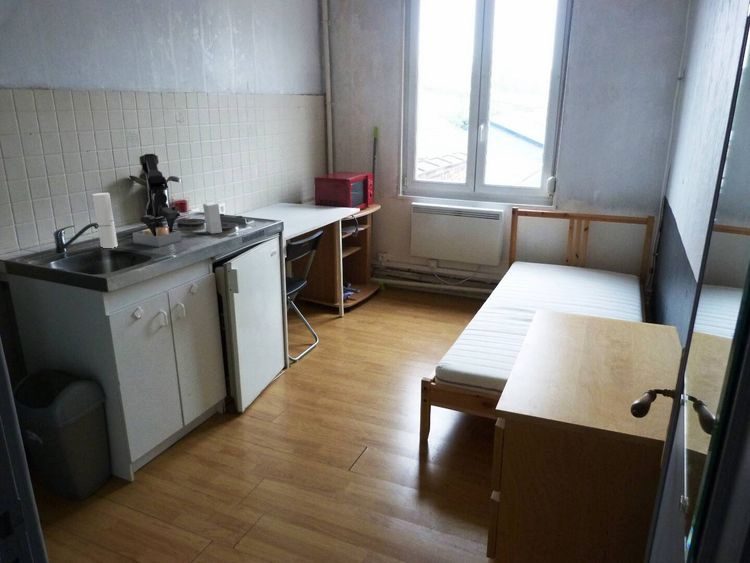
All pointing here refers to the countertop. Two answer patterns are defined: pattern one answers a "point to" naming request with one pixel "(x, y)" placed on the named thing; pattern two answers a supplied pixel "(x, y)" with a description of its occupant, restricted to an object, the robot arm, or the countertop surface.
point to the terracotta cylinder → (162, 231)
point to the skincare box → (212, 218)
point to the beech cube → (149, 232)
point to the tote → (157, 239)
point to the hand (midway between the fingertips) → (163, 234)
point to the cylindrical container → (105, 220)
